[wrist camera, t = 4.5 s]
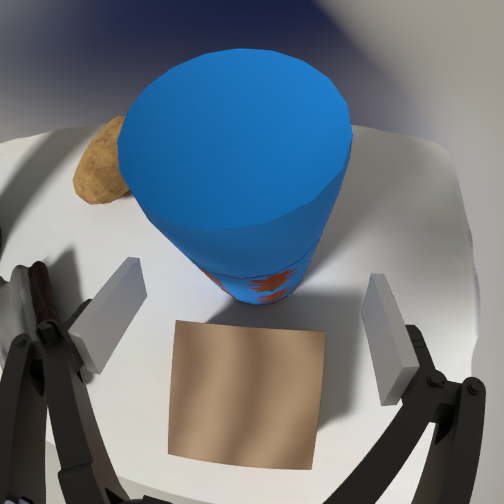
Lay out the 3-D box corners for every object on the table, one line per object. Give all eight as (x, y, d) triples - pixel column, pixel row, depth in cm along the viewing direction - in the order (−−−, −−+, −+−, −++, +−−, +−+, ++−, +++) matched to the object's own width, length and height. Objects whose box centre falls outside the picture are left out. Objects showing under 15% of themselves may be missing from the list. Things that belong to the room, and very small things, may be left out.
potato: (170, 140, 42) (152, 106, 34) (129, 224, 39) (101, 199, 31) (120, 133, 44) (99, 103, 36) (81, 209, 40) (51, 186, 32)
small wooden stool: (186, 434, 31) (167, 453, 24) (194, 323, 34) (175, 320, 28) (304, 446, 29) (311, 469, 23) (315, 332, 33) (325, 331, 26)
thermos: (317, 290, 34) (401, 188, 10) (229, 318, 34) (128, 274, 10) (287, 207, 37) (296, 32, 14) (205, 233, 37) (112, 86, 13)
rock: (92, 389, 33) (56, 396, 25) (41, 402, 32) (6, 407, 25) (61, 266, 38) (27, 251, 31) (17, 291, 38) (-17, 280, 30)
